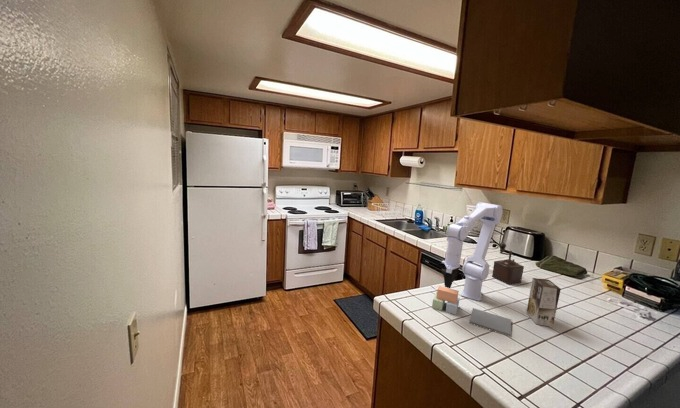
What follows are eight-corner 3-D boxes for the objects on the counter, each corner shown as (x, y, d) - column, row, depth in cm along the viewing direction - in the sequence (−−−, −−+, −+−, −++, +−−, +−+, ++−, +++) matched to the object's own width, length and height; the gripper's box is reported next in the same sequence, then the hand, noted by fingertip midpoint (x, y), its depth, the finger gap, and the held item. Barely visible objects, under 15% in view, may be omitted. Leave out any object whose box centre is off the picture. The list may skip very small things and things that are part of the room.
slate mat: (472, 309, 120) (472, 307, 120) (510, 321, 113) (511, 319, 113) (469, 323, 110) (469, 321, 109) (510, 336, 103) (510, 334, 102)
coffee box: (553, 327, 110) (561, 289, 108) (535, 324, 112) (543, 286, 109) (542, 315, 119) (549, 279, 116) (525, 312, 120) (532, 277, 118)
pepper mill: (522, 282, 151) (528, 250, 148) (508, 285, 147) (514, 252, 144) (497, 271, 165) (502, 241, 162) (483, 273, 161) (488, 242, 158)
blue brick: (448, 304, 124) (449, 295, 123) (458, 306, 122) (459, 298, 121) (445, 312, 117) (446, 303, 116) (455, 315, 115) (457, 306, 114)
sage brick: (435, 300, 126) (436, 292, 126) (444, 303, 125) (446, 294, 124) (431, 308, 120) (433, 299, 119) (441, 311, 118) (442, 302, 117)
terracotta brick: (436, 298, 120) (437, 289, 120) (437, 294, 124) (438, 285, 123) (456, 303, 116) (457, 294, 116) (457, 299, 120) (458, 290, 119)
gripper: (446, 247, 125) (442, 276, 127) (440, 255, 112) (435, 287, 114) (463, 250, 121) (459, 280, 123) (459, 259, 109) (454, 292, 111)
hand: (449, 284), depth 119 cm, fingers open, 7 cm apart
